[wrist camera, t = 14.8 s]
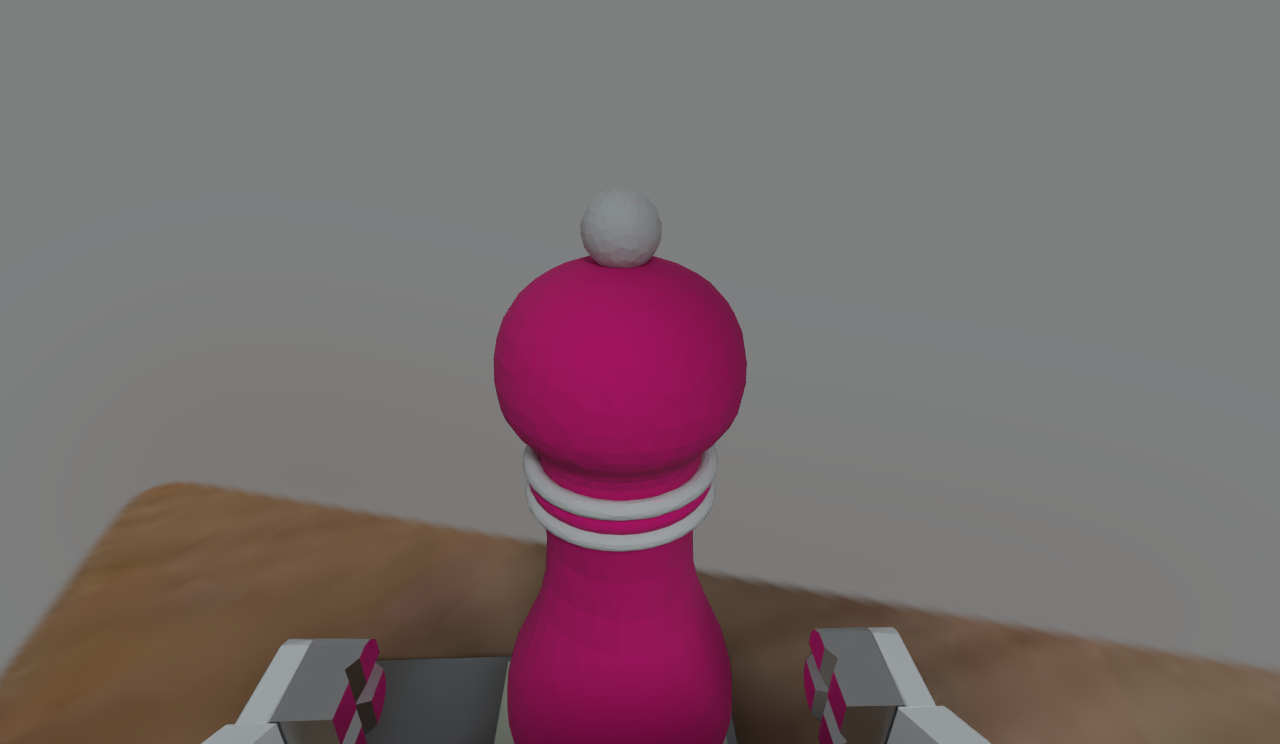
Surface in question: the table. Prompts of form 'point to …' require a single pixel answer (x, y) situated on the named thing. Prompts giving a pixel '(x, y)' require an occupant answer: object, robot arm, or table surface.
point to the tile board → (449, 702)
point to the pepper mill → (620, 486)
